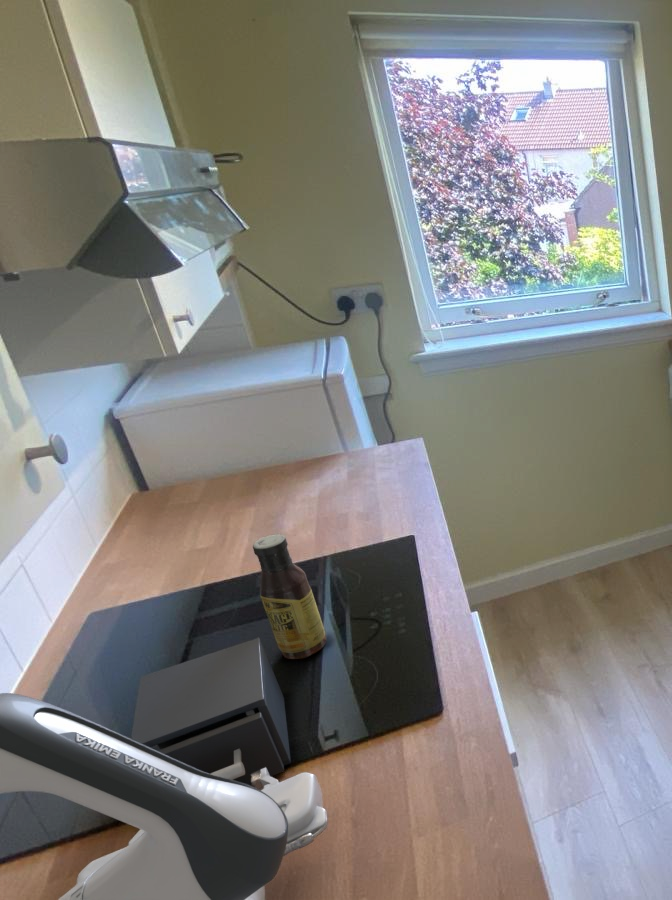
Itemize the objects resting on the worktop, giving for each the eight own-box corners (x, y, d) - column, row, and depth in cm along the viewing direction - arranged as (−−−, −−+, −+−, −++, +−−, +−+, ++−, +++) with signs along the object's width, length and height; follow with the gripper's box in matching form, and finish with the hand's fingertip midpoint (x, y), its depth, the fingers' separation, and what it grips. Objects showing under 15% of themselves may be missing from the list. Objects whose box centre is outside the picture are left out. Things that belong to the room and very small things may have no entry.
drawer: (286, 794, 89) (262, 739, 85) (165, 846, 83) (133, 789, 79) (278, 708, 102) (257, 657, 98) (173, 747, 96) (146, 695, 92)
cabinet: (291, 763, 94) (263, 698, 90) (165, 815, 87) (128, 748, 83) (283, 697, 105) (259, 637, 101) (171, 739, 98) (139, 676, 94)
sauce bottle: (273, 657, 113) (228, 547, 105) (309, 632, 119) (270, 526, 110) (303, 666, 111) (260, 555, 103) (339, 640, 117) (301, 533, 108)
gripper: (321, 811, 76) (309, 731, 86) (56, 930, 65) (79, 822, 76) (338, 853, 79) (324, 770, 89) (86, 974, 68) (104, 863, 78)
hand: (210, 794), depth 82 cm, fingers open, 8 cm apart
